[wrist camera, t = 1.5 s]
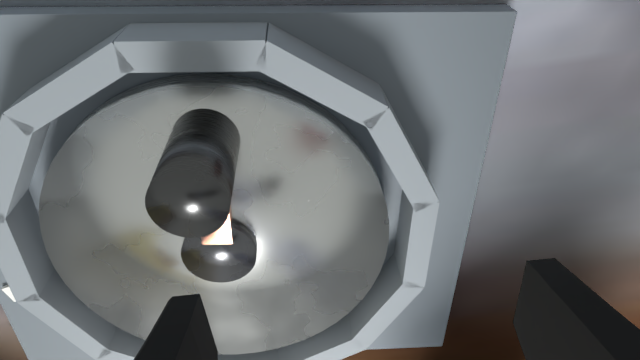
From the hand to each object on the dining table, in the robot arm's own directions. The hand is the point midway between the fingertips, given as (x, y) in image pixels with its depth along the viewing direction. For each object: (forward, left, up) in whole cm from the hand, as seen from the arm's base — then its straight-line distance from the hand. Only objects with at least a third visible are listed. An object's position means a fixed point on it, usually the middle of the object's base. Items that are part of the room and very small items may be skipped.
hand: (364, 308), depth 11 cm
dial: (-5, +5, -9) cm, 12 cm away
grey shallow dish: (-5, +5, -11) cm, 13 cm away
